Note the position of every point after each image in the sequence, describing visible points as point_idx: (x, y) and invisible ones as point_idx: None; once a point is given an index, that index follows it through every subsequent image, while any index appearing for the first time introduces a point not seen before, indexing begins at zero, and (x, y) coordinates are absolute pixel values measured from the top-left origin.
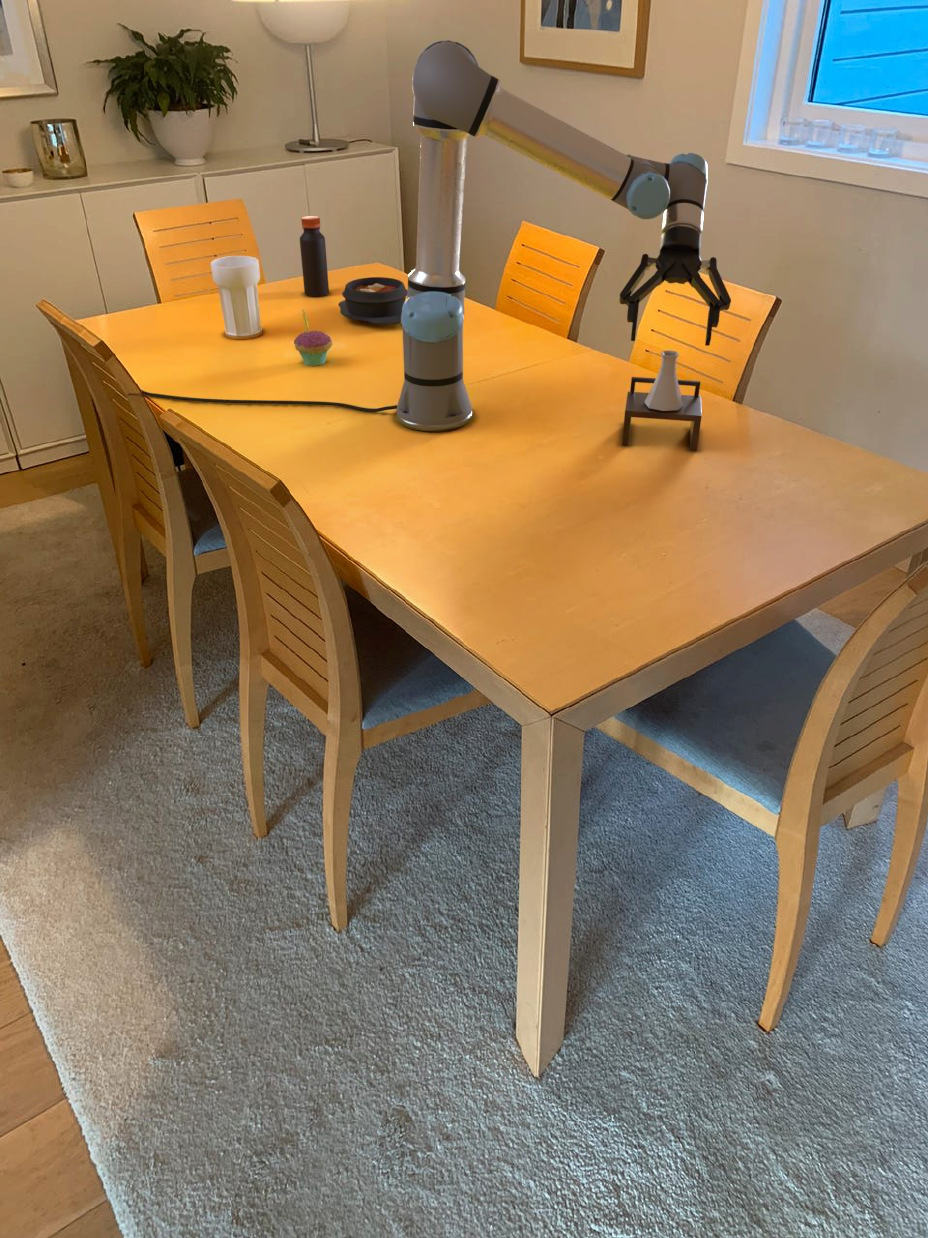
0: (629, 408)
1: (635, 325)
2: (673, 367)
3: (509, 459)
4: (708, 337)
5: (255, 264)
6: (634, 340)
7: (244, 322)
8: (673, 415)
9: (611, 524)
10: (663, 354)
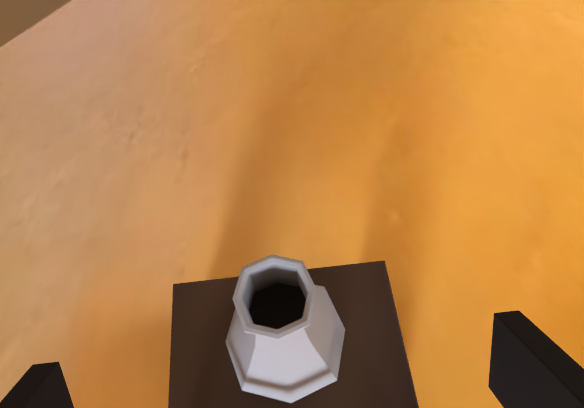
0: (377, 279)
1: (537, 348)
2: (255, 286)
3: (554, 163)
4: (45, 367)
5: None
6: (490, 378)
7: None
8: None
9: (316, 31)
10: (301, 266)
